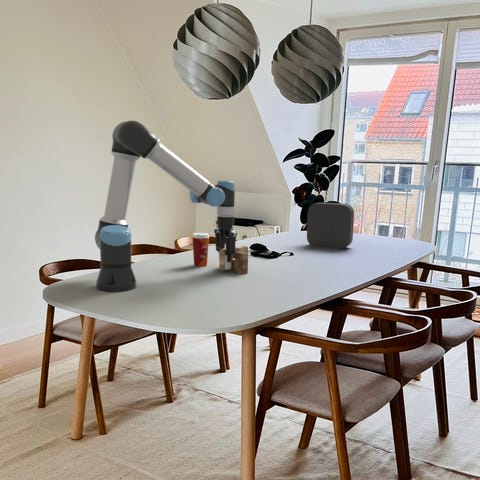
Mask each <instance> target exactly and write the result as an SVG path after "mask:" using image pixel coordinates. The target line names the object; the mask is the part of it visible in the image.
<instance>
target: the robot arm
mask: <svg viewBox="0 0 480 480" xmlns="http://www.w3.org/2000/svg"><path fill="white" fill-rule="evenodd" d="M111 145H112V146H111V151H110V153H111V154H112V156H113V161H112V164H113V165H112V168H111V175H110V180H109V185H108V191H107V197H106V204H105V208H104V209H105V210H104V215H103V216H101V217H100V218H99V220H98V221H99V222H98V226H97V230H96V232H95V234H94V241H95V244H96V246H97V248H98V249H99V251H100V257H99V258H100V260H99V261H100V269H99V272H98V275H97V277H96V278H97V279H96V286H95V288H96V289H97V290H100V291H102V292H103V291H104V292H123V291H129V290H134V289H135V288H136V287H137V279H136V277H135V274H134V271H133V268H132V233H131V229H130V228H129V223H128V221H127V219H126V218H127V214H128V213H127V212H128V206H129V202H130V196H131V192H132V191H131V190H132V184H133V180H134V179H133V178H134V172H135V167H136V162H137V161H138V160H140V159H141V158H142V159H144V160H145V159H148V160H149V161H150V162H152V163H153V164H155V165H156V166H157V167H158V168H160V169H161V170H162V171H164V172H165V173H166V174H168V175H169V176H170V177H172V178H173V179H175V181H177V182H178V183H180V184H181V185H182V186H184V187H185V188H186V189H187V190H189V198H190V201H191V202H192V203H194V204H205V205H208V206H211V207H216V214H217V217H216V224H217V225H218V228H215V229H213V230H214V236H215V251H216V252H218V256H219V255H220V249H223V248H226V254H225V269H231V255H232V254H234V253H235V247H236V242H237V241H236V240H237V235H238V232H237V231H234V229H233V226H234V225H235V216H234V215H235V196H236V195H235V194H236V187H235V182H234V181H233V180H225V179H222V180H218V181H217V184H213V183H211V182H210V181H209V180H208V179H206V178H205V177H204V176H203V175H201V174H200V173H199V172H197V171H196V170H195V169H194V168H192V167H191V166H190V165H189V164H187V163H186V162H185V161H184V160H182V159H181V158H179V157H178V156H177V155H176V154H175V153H174V152H172V151H170V150H169V149H168V148H167V147H166V146H165V145H163V144H162V143H161V142H160V138H159V137H157V136H156V135H155V134H154V133H153V132H152V131H151V130H149V129H148V127H147V126H145V125H144V124H143V123H141V122H139V121H137V120H127V121H126V120H125V121H123V122H120V123H118V124H117V125H116V126H115V128H114V130H113V132H112V144H111Z"/></svg>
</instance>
